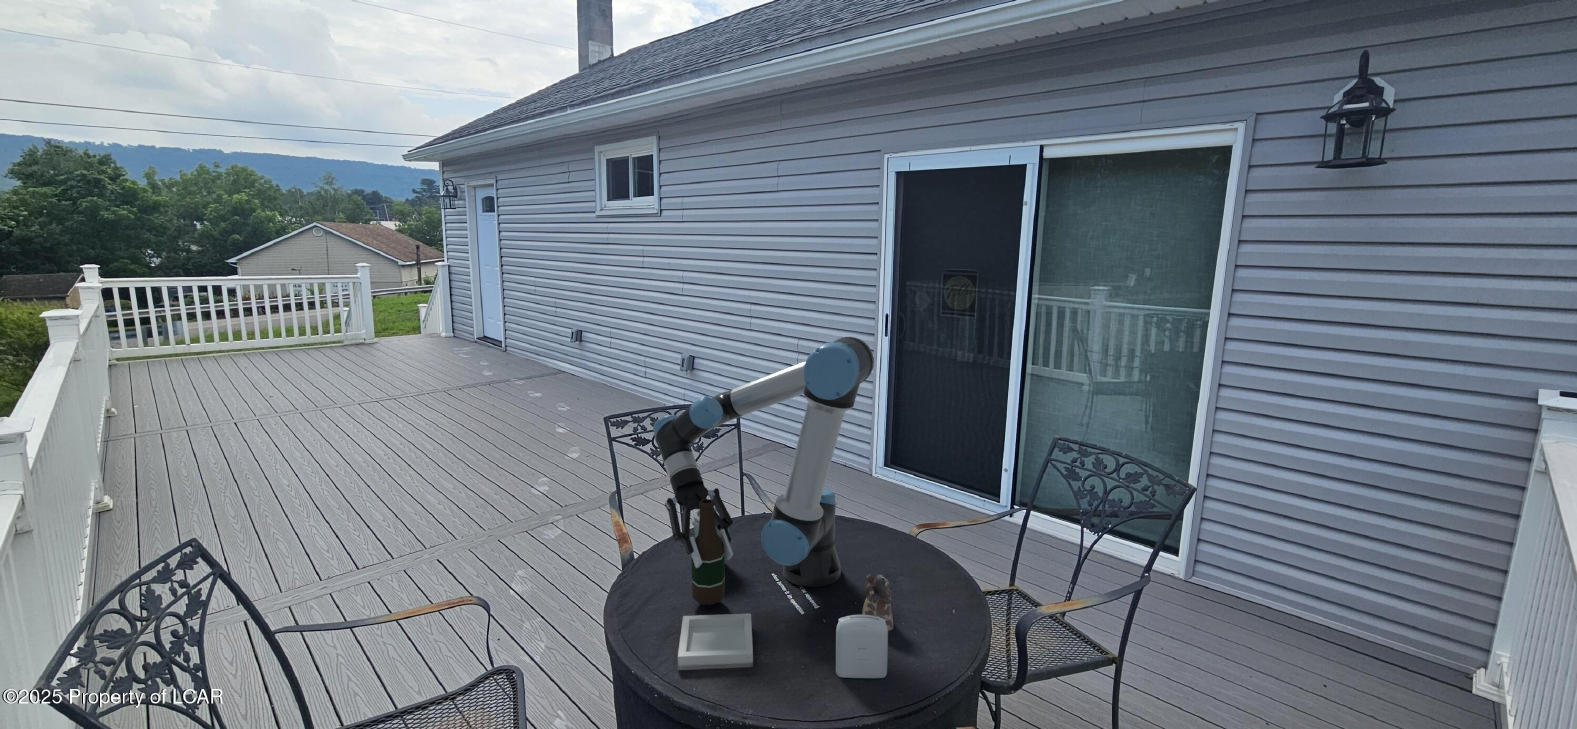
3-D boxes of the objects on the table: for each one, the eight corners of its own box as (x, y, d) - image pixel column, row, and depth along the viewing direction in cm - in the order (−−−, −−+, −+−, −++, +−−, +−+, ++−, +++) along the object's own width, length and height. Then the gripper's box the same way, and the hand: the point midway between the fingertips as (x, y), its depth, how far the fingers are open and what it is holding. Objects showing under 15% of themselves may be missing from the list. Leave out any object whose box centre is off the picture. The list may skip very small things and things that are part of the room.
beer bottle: (711, 609, 153) (709, 510, 149) (685, 599, 157) (682, 503, 153) (732, 594, 159) (730, 499, 155) (706, 585, 163) (704, 492, 159)
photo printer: (835, 679, 132) (836, 621, 129) (834, 666, 136) (836, 610, 134) (888, 681, 131) (890, 623, 129) (885, 667, 135) (887, 611, 133)
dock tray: (750, 625, 150) (750, 613, 149) (752, 667, 135) (752, 653, 135) (683, 628, 149) (683, 616, 148) (678, 670, 134) (677, 656, 133)
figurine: (892, 635, 147) (894, 584, 145) (860, 631, 148) (861, 581, 146) (893, 618, 154) (895, 569, 151) (863, 614, 155) (864, 566, 153)
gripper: (716, 474, 172) (747, 557, 162) (641, 489, 161) (669, 578, 151) (725, 459, 167) (758, 544, 156) (648, 474, 156) (678, 566, 145)
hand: (714, 561), depth 154 cm, fingers closed on beer bottle, 7 cm apart
